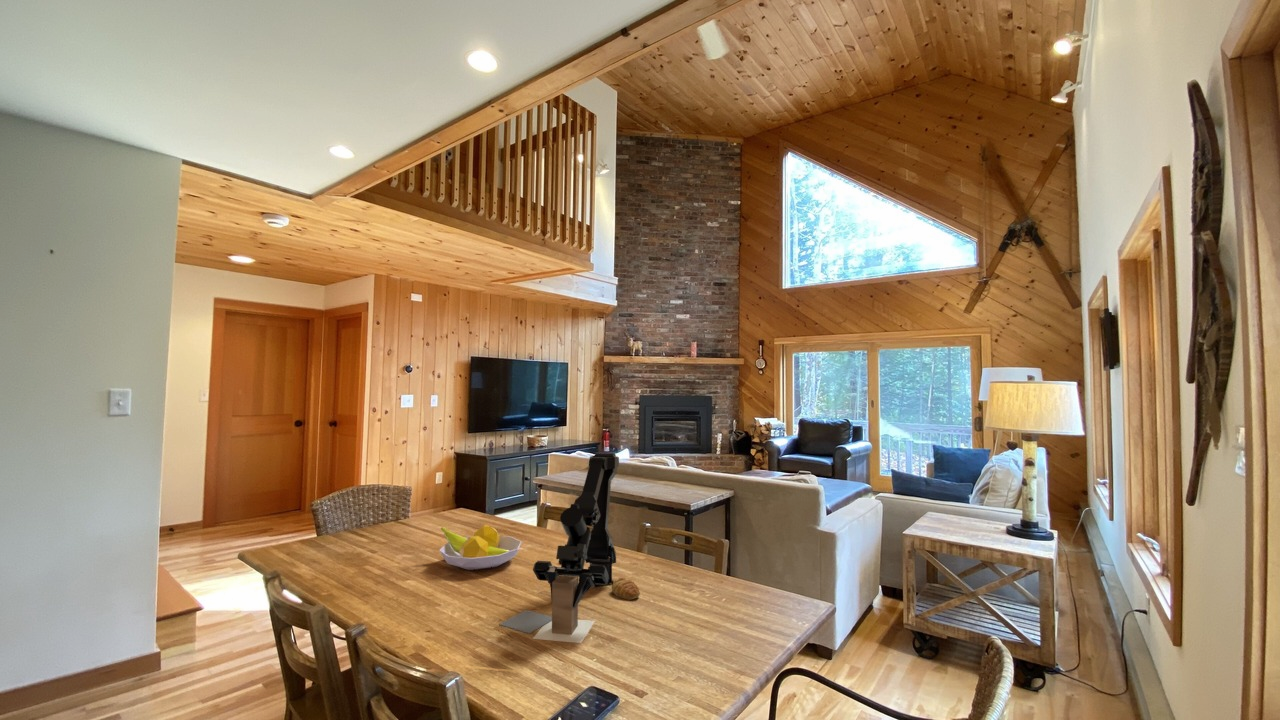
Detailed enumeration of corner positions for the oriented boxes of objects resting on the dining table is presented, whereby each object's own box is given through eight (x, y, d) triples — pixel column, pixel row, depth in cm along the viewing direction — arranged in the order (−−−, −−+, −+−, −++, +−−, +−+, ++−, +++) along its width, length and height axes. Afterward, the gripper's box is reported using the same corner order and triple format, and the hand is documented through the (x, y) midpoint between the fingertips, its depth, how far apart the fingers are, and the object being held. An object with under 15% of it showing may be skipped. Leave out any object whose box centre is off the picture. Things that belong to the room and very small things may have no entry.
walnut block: (558, 624, 137) (559, 575, 137) (577, 625, 136) (578, 576, 136) (551, 633, 132) (552, 582, 132) (571, 634, 131) (571, 584, 131)
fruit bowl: (537, 559, 189) (537, 526, 190) (475, 582, 167) (476, 545, 167) (481, 546, 204) (482, 515, 205) (418, 566, 182) (419, 532, 182)
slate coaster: (526, 612, 145) (526, 609, 145) (555, 620, 140) (555, 617, 140) (499, 626, 136) (499, 624, 136) (529, 635, 131) (529, 633, 131)
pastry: (645, 598, 155) (645, 584, 155) (625, 603, 151) (625, 589, 151) (628, 587, 163) (628, 574, 163) (608, 592, 159) (608, 579, 159)
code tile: (550, 618, 141) (550, 617, 141) (595, 622, 139) (595, 620, 139) (532, 640, 129) (532, 638, 129) (581, 644, 127) (581, 642, 127)
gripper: (535, 529, 140) (518, 588, 129) (606, 532, 137) (594, 593, 126) (546, 550, 148) (530, 608, 136) (613, 554, 144) (602, 614, 133)
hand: (563, 606), depth 133 cm, fingers closed on walnut block, 5 cm apart
